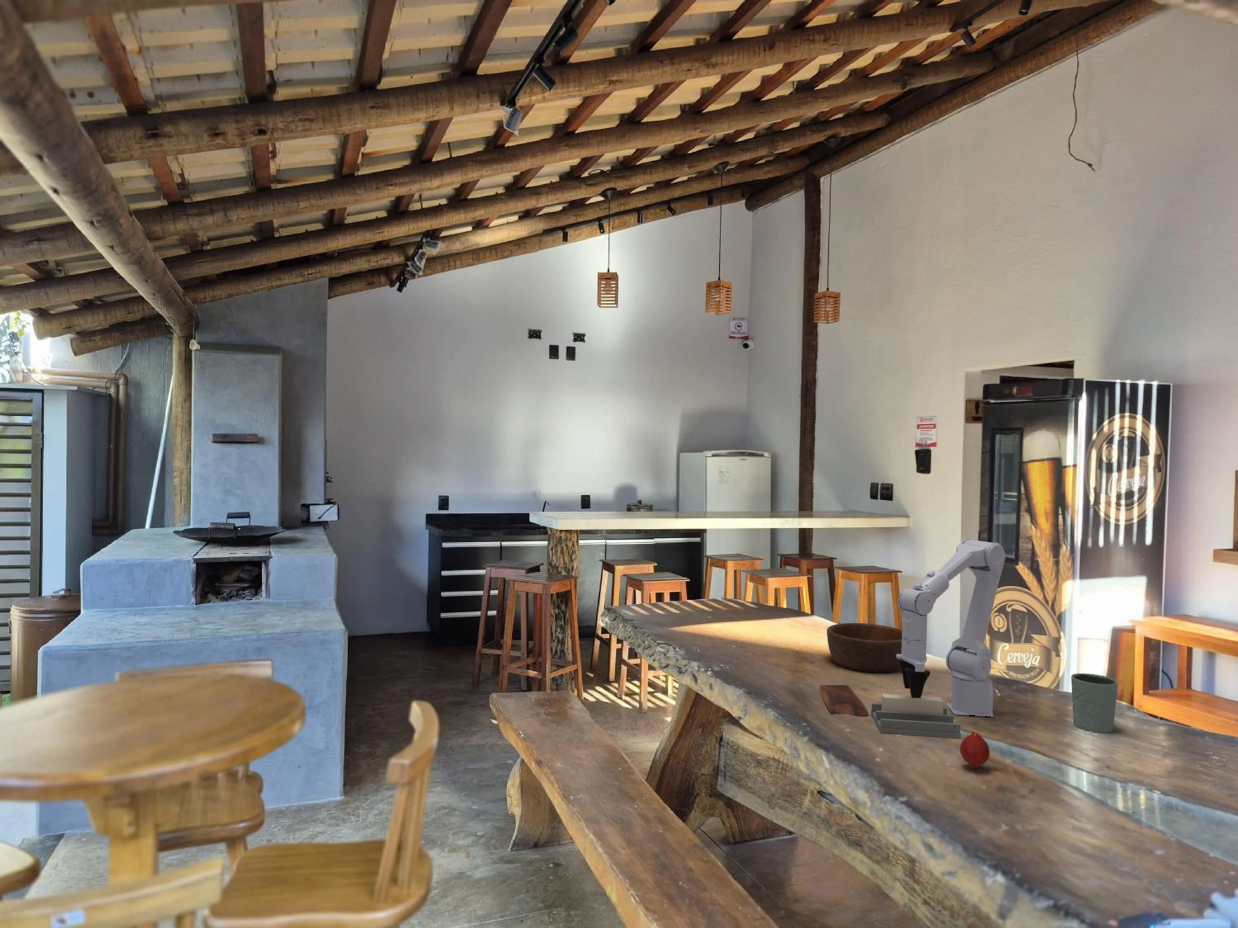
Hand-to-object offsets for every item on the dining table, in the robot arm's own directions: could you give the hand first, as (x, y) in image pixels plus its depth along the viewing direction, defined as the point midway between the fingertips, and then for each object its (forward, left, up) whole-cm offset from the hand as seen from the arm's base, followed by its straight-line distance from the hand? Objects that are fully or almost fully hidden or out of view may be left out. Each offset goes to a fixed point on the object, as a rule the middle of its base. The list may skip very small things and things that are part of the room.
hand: (912, 692), depth 206 cm
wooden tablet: (+15, -15, -8) cm, 22 cm away
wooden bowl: (+2, -53, -7) cm, 53 cm away
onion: (-7, +28, -7) cm, 30 cm away
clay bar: (0, 0, -6) cm, 6 cm away
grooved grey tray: (0, +3, -7) cm, 8 cm away
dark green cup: (-44, -5, -7) cm, 45 cm away
